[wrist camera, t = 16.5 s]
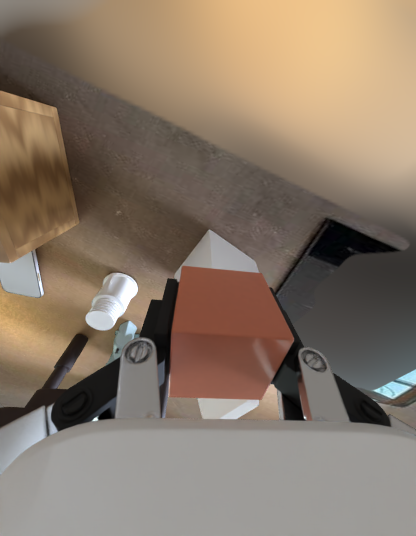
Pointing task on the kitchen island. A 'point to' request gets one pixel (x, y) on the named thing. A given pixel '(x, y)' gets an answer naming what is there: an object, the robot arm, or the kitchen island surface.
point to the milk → (227, 258)
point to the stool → (65, 364)
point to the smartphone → (22, 276)
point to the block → (225, 335)
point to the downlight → (111, 301)
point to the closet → (32, 177)
